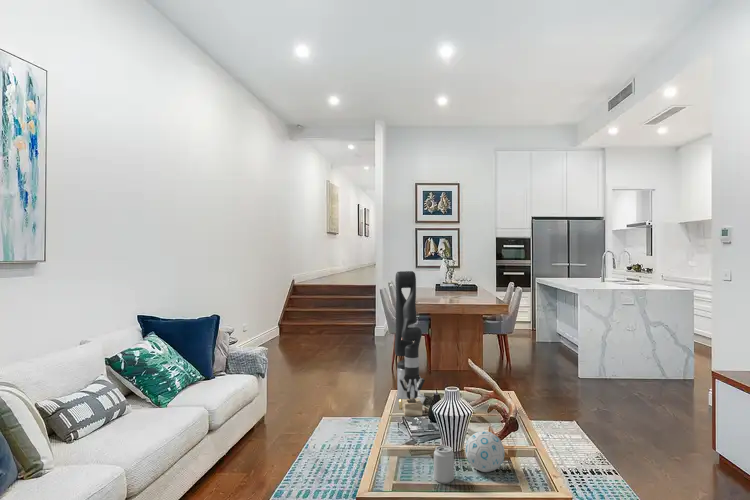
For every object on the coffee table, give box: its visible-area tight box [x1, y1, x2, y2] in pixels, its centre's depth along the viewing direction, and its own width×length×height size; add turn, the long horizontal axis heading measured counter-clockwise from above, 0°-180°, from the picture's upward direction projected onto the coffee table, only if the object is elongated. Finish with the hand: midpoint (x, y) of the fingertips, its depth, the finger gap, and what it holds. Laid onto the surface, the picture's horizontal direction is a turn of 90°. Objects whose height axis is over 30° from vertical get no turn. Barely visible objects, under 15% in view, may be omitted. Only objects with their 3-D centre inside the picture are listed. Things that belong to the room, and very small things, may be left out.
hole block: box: [401, 399, 423, 417], centre depth 273 cm, size 9×9×6 cm
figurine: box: [415, 380, 426, 405], centre depth 290 cm, size 7×9×15 cm
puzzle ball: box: [464, 430, 505, 473], centre depth 205 cm, size 15×15×15 cm
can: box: [433, 445, 455, 484], centre depth 197 cm, size 8×8×12 cm
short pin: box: [398, 398, 402, 411], centre depth 280 cm, size 3×3×5 cm
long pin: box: [409, 385, 415, 403], centre depth 273 cm, size 3×3×10 cm
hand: (412, 398), depth 273 cm, fingers closed on long pin, 3 cm apart
